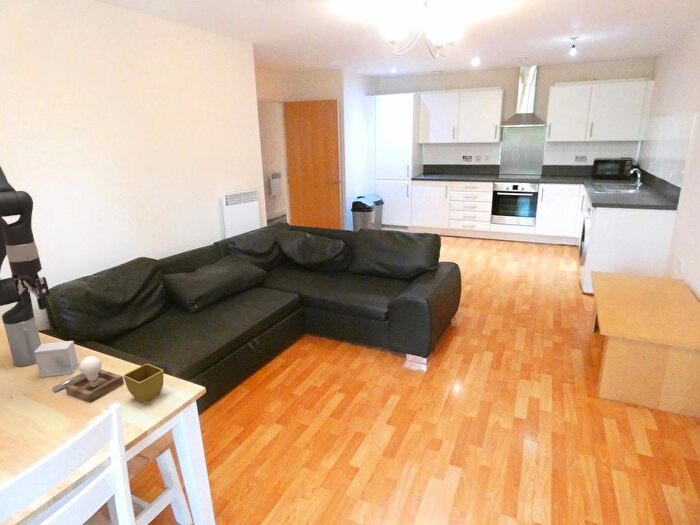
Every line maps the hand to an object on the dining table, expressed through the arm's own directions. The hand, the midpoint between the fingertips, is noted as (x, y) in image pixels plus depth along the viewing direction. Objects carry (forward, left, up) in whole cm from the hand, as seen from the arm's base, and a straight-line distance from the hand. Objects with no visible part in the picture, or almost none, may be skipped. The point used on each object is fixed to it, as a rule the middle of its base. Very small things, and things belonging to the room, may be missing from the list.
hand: (35, 306), depth 132 cm
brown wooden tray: (+12, +6, -30) cm, 33 cm away
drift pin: (+1, +4, -30) cm, 30 cm away
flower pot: (+32, +10, -30) cm, 45 cm away
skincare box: (-11, +8, -30) cm, 33 cm away
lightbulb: (+12, +6, -29) cm, 32 cm away
